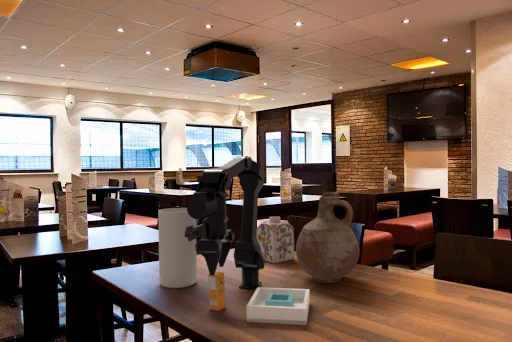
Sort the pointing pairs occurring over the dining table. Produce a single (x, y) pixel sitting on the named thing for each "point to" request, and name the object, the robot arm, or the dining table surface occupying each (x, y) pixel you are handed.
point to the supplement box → (217, 291)
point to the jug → (328, 242)
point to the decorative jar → (276, 240)
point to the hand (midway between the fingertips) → (217, 270)
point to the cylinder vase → (176, 249)
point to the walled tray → (279, 306)
